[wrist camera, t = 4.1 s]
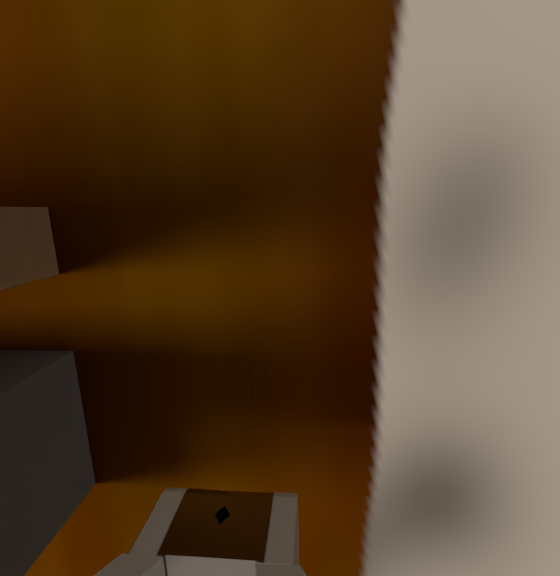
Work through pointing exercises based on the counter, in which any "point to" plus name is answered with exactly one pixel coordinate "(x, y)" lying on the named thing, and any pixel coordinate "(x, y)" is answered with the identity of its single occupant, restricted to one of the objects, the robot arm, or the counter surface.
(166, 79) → the counter surface
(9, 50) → the counter surface
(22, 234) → the wall frame
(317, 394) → the counter surface
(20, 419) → the block
